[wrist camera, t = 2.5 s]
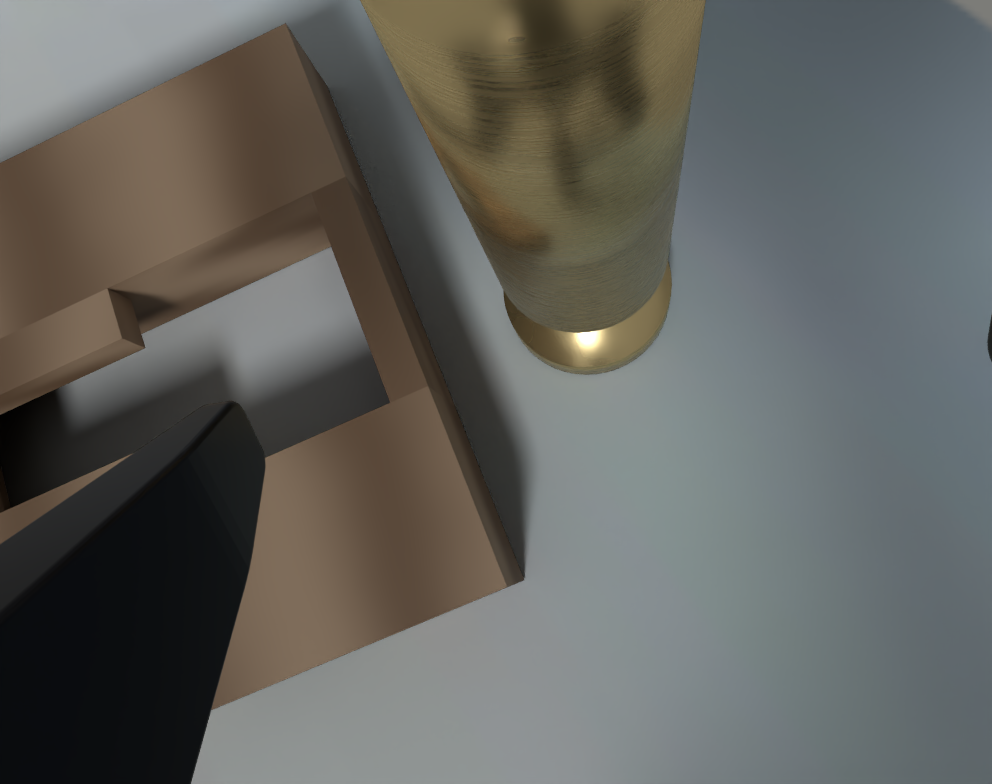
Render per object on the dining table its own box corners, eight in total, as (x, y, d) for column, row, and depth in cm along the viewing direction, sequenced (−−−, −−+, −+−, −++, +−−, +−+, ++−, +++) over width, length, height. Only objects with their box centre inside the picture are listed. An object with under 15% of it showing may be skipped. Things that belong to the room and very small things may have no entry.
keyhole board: (327, 85, 24) (285, 23, 21) (524, 580, 20) (507, 587, 17) (-127, 304, 25) (-225, 273, 22) (-21, 806, 21) (-122, 848, 19)
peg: (554, 403, 21) (421, 151, 7) (482, 269, 22) (248, -167, 8) (700, 324, 21) (839, -86, 7) (619, 193, 22) (605, -383, 8)
